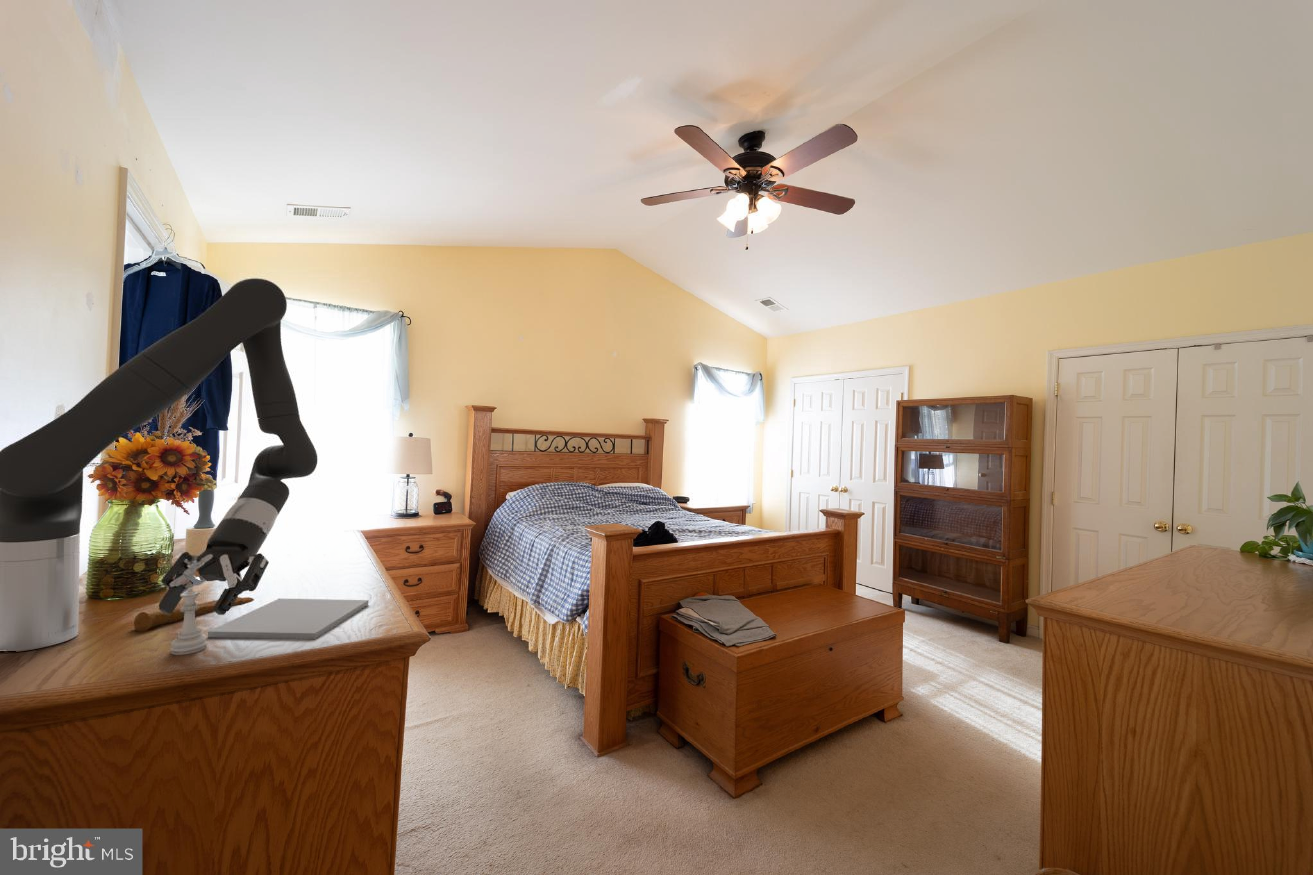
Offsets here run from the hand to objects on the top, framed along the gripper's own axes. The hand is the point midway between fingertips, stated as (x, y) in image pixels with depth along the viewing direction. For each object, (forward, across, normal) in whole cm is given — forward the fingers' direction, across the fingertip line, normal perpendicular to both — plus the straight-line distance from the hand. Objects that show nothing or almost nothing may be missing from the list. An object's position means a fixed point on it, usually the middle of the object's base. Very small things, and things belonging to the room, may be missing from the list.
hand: (191, 612), depth 87 cm
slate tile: (-6, +8, +14) cm, 17 cm away
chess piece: (+4, 0, +4) cm, 6 cm away
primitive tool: (-7, -12, +16) cm, 22 cm away
